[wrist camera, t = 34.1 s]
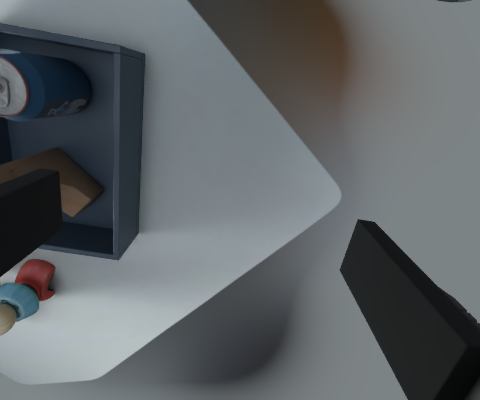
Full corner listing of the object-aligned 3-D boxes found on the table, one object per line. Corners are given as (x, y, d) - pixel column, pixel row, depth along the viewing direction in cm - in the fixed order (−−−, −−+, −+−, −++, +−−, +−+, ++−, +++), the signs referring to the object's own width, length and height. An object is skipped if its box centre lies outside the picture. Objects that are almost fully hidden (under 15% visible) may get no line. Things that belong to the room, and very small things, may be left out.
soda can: (43, 52, 37) (-45, 36, 26) (96, 67, 37) (33, 58, 26) (42, 105, 39) (-38, 112, 28) (92, 119, 40) (33, 131, 29)
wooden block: (106, 189, 44) (20, 252, 27) (88, 206, 45) (-5, 277, 28) (58, 145, 41) (-69, 184, 25) (40, 165, 42) (-93, 215, 26)
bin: (-6, 26, 37) (-70, 10, 29) (145, 54, 38) (120, 45, 30) (20, 215, 47) (-23, 239, 39) (138, 233, 48) (118, 260, 40)
